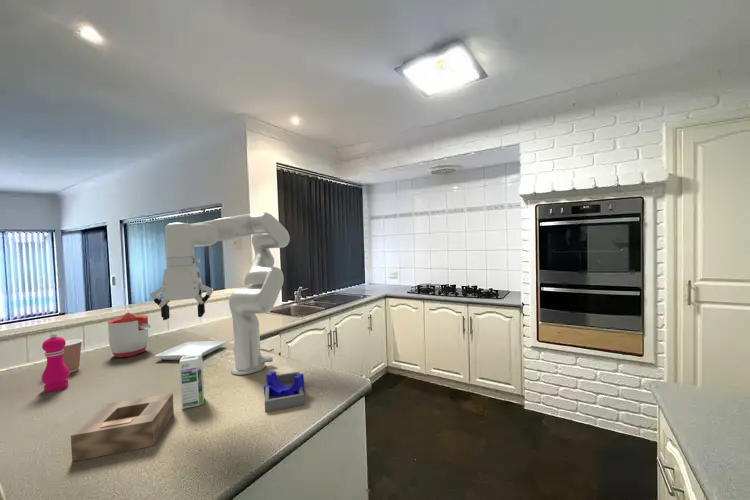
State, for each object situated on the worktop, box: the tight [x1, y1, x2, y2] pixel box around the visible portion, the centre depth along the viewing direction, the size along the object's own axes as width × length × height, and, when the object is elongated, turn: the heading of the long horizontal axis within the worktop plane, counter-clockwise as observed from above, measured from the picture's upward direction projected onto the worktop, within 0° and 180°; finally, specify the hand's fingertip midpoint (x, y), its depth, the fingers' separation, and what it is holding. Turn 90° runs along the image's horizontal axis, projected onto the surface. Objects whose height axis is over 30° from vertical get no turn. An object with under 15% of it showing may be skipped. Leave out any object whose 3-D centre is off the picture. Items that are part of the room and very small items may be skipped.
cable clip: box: [263, 370, 306, 398], centre depth 102 cm, size 12×4×6 cm, turn 71°
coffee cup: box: [63, 338, 83, 374], centre depth 133 cm, size 10×10×12 cm
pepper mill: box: [41, 332, 71, 392], centre depth 116 cm, size 7×7×20 cm
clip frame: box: [264, 371, 305, 413], centre depth 102 cm, size 11×19×3 cm, turn 17°
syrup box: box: [178, 353, 205, 410], centre depth 98 cm, size 6×6×14 cm
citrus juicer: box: [106, 312, 151, 358], centre depth 153 cm, size 16×17×20 cm
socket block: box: [70, 392, 175, 462], centre depth 83 cm, size 16×16×6 cm
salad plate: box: [154, 340, 226, 361], centre depth 148 cm, size 21×21×3 cm
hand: (183, 317), depth 99 cm, fingers open, 9 cm apart
